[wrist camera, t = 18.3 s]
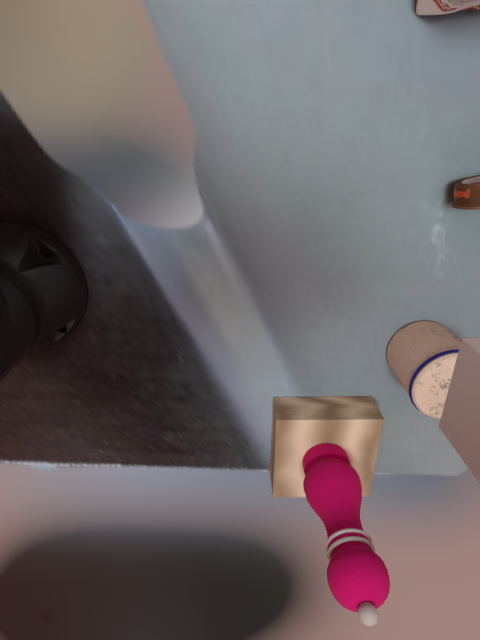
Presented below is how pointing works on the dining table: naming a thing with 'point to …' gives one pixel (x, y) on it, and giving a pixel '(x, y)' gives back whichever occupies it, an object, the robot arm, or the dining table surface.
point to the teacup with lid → (424, 363)
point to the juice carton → (445, 6)
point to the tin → (467, 193)
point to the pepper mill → (345, 532)
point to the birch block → (322, 437)
